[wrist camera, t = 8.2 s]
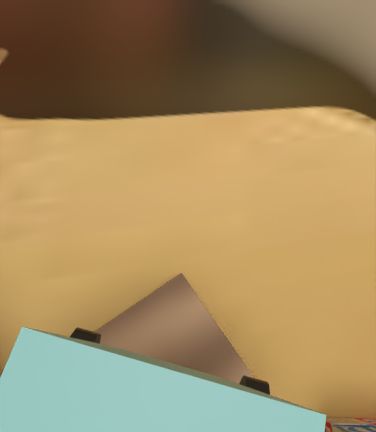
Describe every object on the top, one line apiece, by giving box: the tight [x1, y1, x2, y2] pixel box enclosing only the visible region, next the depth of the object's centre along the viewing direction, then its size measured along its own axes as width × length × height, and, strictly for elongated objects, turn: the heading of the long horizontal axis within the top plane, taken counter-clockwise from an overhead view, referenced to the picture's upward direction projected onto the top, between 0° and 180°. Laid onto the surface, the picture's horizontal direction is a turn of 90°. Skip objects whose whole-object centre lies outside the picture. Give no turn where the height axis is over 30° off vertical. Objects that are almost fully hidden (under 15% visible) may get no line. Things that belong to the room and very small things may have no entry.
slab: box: [95, 273, 254, 384], centre depth 26 cm, size 12×12×3 cm
